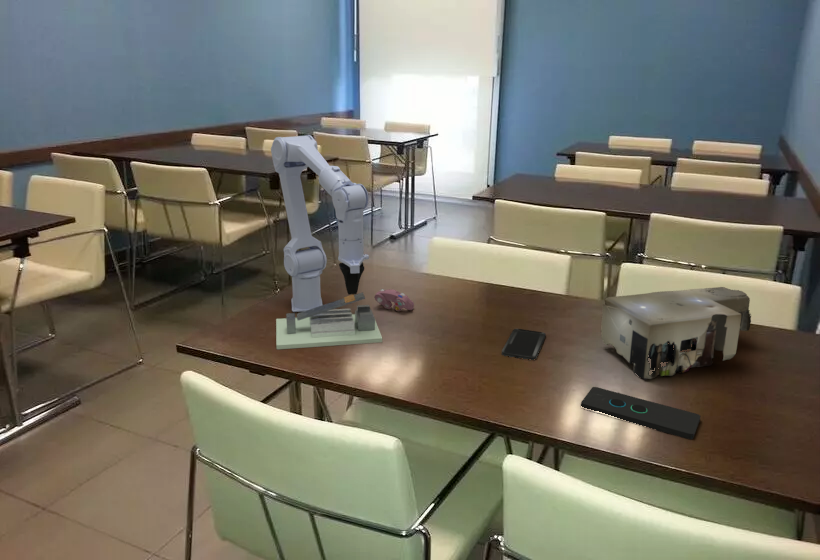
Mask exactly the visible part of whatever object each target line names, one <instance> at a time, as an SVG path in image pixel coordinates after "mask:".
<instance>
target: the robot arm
mask: <svg viewBox="0 0 820 560" xmlns="http://www.w3.org/2000/svg"><path fill="white" fill-rule="evenodd" d="M271 144H272V145H271V148H270V153H271V158H272V163H273V164H272V165H273V167H274V171H275V172H276V173H278V176H279V181H280V186H281V191H282V196H283V200H284V201H283V202H284V206H285V212H286V217H287V222H288V227H289V232H290V237H291V239H290V240H289V242H287V244H285V246H284V247H283V256H284V257H283V266H284V269H285V272H287V274H288V275H289V276H290V277H291V281H292V282H291V285H292V286H291V288H292V298H291V299H290V301H291V311H292V312H291V313H297V312H298V313H300V312H304V311H307V310H310V309H313V308H316V307H319V306H322V305H324V304H323V300H322V297H321V296H322V295H321V274H323V270H324V269H325V268H326V266H327V263H328V262H327V261H328V258H327V255H326V252H325V251H324V248H323V245H322V244H323V243H322V241H321V240H319V239H317V238H316V237H314V236H313V235H312V230H311V226H310V220H309V215H308V210H307V205H306V199H305V195H304V189H303V184H302V179H301V175H302V172H303V171H305V170H307V168H309V169H310V170H311V171H312V172H313V173H315V174H316V175H317V176H318V184H319V185H320V186H321V187H322V188H323V189H324V190H325V192H326V193H327V194H328V195H330V197H331V199H332V206H333V207H334V210H335V217H336V219H337V220H338V221H337V223H338V224H337V225H338V256H337V257H338V259H337V260H338V261H339V262H340V263H338V266H339V270H340V271H341V273H342V275H343V279H344V285H345V288H346V289H345V290H346V293H347V296H350V295H353V294H354V295H356V294H358V289H359V285H360V280H361V278H362V275H363V273H364V271H365V266H364V261H365V260H369V259H370V255H369V254H367V253H364V251H365V249H364V242H365V241H364V210H365V209H366V208H367V207H368V205H369V201H370V200H369V194H368V189H366V187H365V186H364V184H362V183H356V182H352V180H351V179H350V178H349V177H348V176H347V175H346V174H345V173H344V172H343V171H342V170H341V168H340V167H339V166H337V165H330V164H329V163H328V162H327V160H326V159H325V158H324V157H323V155H322V154H321V153H320V152H319V150H318V142H317V140H316V139H315V138H314V137H313V136H312V135H311V134H306V135H296V136H285V137H283V136H276V137H275V138H274V139H273V141H272V143H271Z"/></svg>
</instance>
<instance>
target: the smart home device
mask: <svg viewBox="0 0 820 560" xmlns="http://www.w3.org/2000/svg"><path fill="white" fill-rule="evenodd" d="M581 406H582V407H584V408H587V409H591V410H594V411H599V412H602V413H605V414H608V415H611V416H614V417H617V418H620V419H623V420H626V421H629V422H628V423H630V422H633V423H636V424H635V425H637V424H639V425H638V426H640V425H642V426H641V427H644V426H646V427H645V428H647V427H649V428H648V429H651V428H652V430H654V429H656V430H655V431H657V432H661V431H662V432H661V433H666V434H669V435H673V436H676V437H680V438H682V439H686V440H694V437H695V435H696V432H697V429H698V428H699V424H700V421H701V415H700V414H698V413H695V412H691V411H688V410H684V409H682V408H677V407H674V406H669V405H666V404H662V403H657V402H655V401H650V400H647V399H642V398H638V397H635V396H633V395H628V394H624V393H620V392H616V391H612V390H610V389H606V388H603V387H602V388H601V387H597V386H592V387H591V388H590V389H589V390H588V392H587V394H586V395H585V397H584V398H583V399H582V400H581V402H580V407H581ZM623 420H622V421H623ZM626 421H625V422H626ZM633 423H632V424H633Z"/></svg>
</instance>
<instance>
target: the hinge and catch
mask: <svg viewBox="0 0 820 560" xmlns="http://www.w3.org/2000/svg"><path fill="white" fill-rule="evenodd" d="M354 314H355V323H356V326H357V329H358V331H372V330H375V321H376V318H375V315H374V312H373V310H372V308H371V306H370V304H359V305H358V304H357V305H356V309H355V310H354ZM285 316H286V317H285V318H286V319H287V334H296V324H295V318H296V312H291V313H285Z"/></svg>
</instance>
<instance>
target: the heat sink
mask: <svg viewBox="0 0 820 560" xmlns="http://www.w3.org/2000/svg"><path fill="white" fill-rule="evenodd" d="M351 311H352V310H351V308H340V309H339V308H335V309H332V310H329V311H326V312H323V313H320V314H317V315H314V316H311V317H309V320H310V328H311V336H312V338H314V337H330V336H345V335H355V325H354V321H353V317H352V314H353V312H351Z"/></svg>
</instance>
